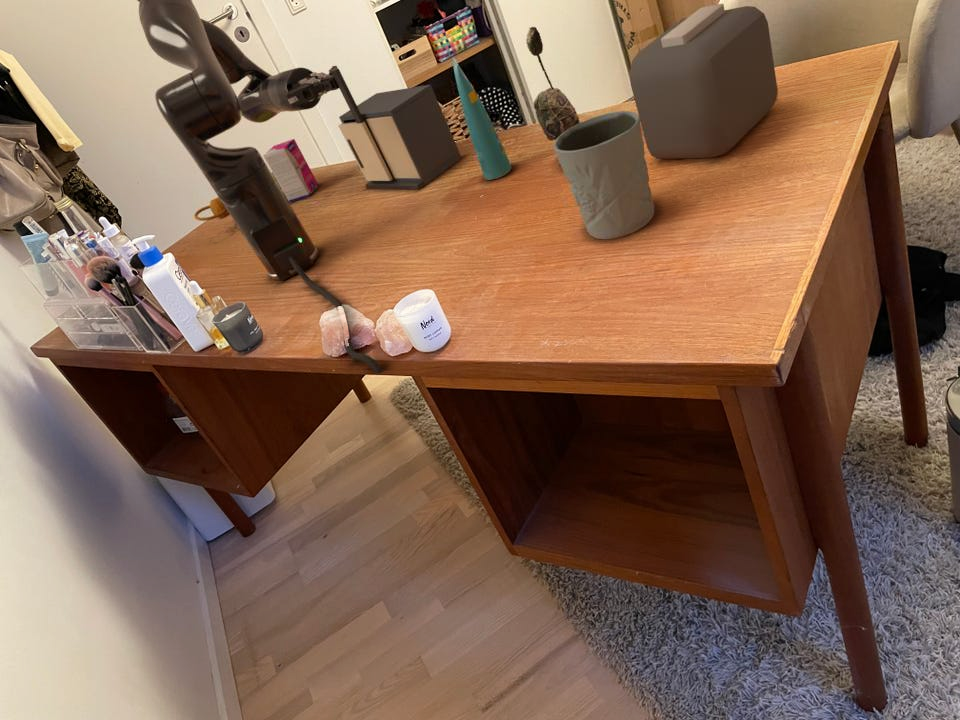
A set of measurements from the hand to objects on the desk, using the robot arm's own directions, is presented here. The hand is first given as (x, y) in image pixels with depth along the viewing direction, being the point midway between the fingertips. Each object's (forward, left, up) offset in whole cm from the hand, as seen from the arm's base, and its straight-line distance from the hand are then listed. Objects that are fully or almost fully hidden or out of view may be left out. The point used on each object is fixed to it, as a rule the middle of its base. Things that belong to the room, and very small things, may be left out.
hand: (337, 81), depth 122 cm
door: (+2, +1, -20) cm, 20 cm away
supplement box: (+25, +16, -21) cm, 36 cm away
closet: (+1, -6, -21) cm, 22 cm away
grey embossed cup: (-58, -20, -21) cm, 65 cm away
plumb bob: (+31, +28, -21) cm, 47 cm away
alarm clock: (-50, -40, -21) cm, 68 cm away
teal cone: (-22, -16, -21) cm, 34 cm away
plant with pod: (-33, -26, -21) cm, 47 cm away
